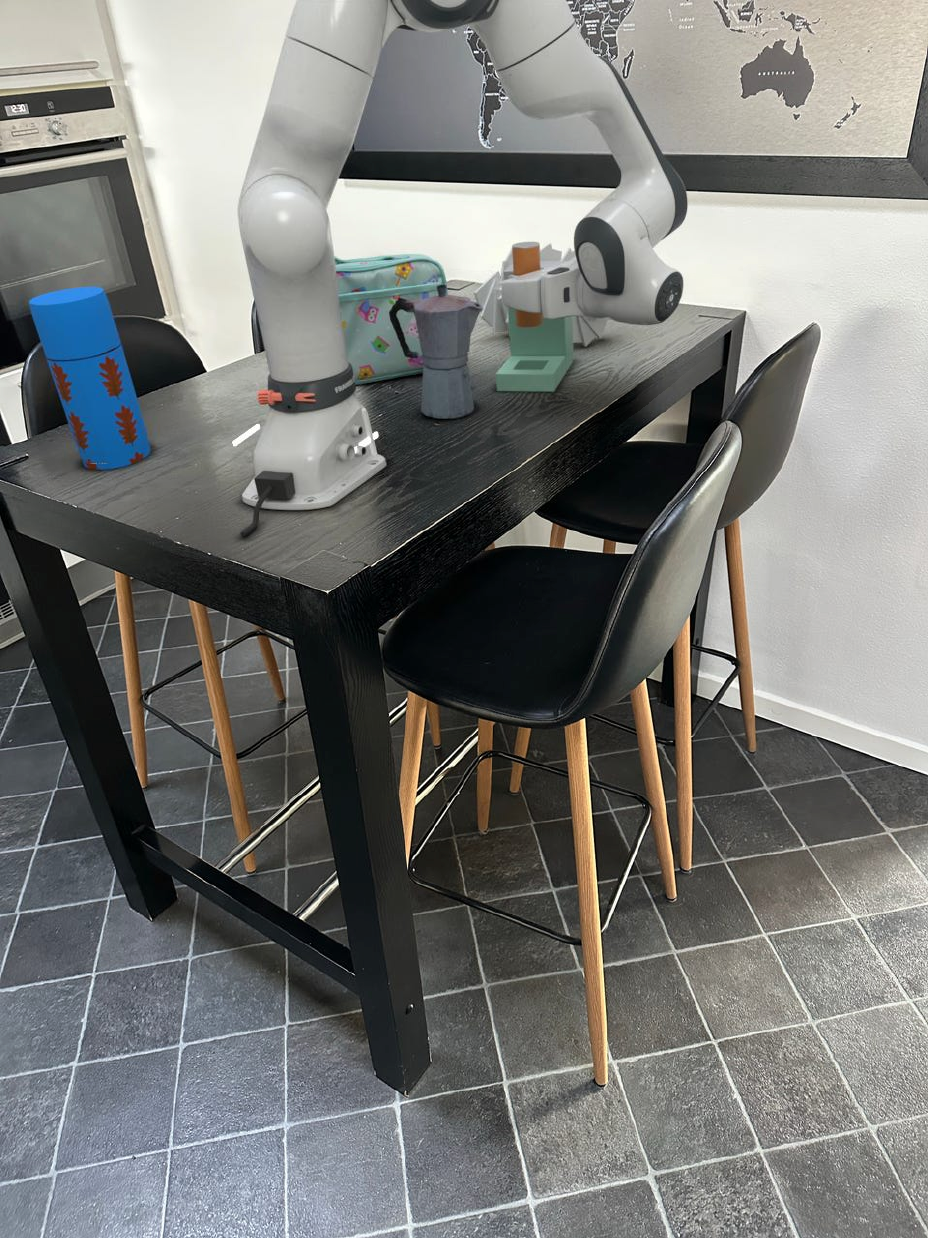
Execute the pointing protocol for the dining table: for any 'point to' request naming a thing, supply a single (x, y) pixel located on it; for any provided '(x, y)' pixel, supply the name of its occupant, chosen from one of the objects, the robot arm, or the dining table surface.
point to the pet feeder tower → (541, 332)
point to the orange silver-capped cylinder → (523, 263)
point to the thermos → (91, 376)
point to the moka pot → (442, 350)
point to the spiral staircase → (498, 312)
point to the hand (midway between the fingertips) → (523, 276)
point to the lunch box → (383, 311)
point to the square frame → (531, 373)
